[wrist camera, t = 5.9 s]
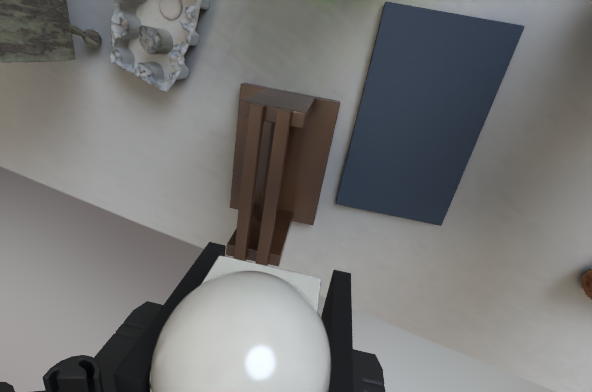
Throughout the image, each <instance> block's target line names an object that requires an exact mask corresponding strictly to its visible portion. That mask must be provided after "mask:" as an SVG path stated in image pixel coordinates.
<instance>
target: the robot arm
mask: <svg viewBox="0 0 592 392" xmlns="http://www.w3.org/2000/svg"><path fill="white" fill-rule="evenodd" d="M219 256H225V245H221V244H216V243H212V242H209V243H208V245H207V246H206V247H205V249H204V250H203V252H202V253H201V254H200V256H199V257H198V259H197V260H196V261H195V263H194V264H193V265H192V267H191V268H190V270H189V271H188V272H187V274H186V275H185V276H184V278H183V279H182V280H181V282H180V283H179V285H178V286H177V287H176V289H175V290H174V291H173V293H172V294H171V296H170V297H169V298H168V300H167V301H166V303H165V304H164V305H161V304H156V303H152V302H148V301H147V302H145V303H144V304H142V305H141V306H139V307H138V308H136V309H135V310H133V312H132V313H131V314H130V315H129V316H128V317H127V319H126V320H125V321H124V323H123V324H122V325H121V326H120V327H119V328H118V330H117V331H116V333H115V334H113V336H112V337H111V338H110V339H109V340H108V342H107V343H106V344H105V345H104V346H103V348H102V349H101V350H100V351H99V352H98V354H97V355H96V356H95V357H94V358H93V357H90V356H85V355H80V356H74V357H70V358H68V359H65V360H63V361H60V362H59V363H57V364H56V365H55V366H53V367H52V368H50V370H49V371H48V372H47V373H46V374H45V375H44V376H43V381H44V385H45V389H46V390H45V391H35V392H150V372H151V363H152V356H153V352H154V348H155V345H156V341H157V339H158V337H159V334H160V332H161V330H162V328H163V326H164V324H165V322H166V320H167V318H168V316H169V315H170V314H171V313H172V312H173V310H174V309H175V308H176V307H177V306H178V304H179V303H180V302H181V301H182V299H183V298H184V297H185V296H186V295H188V294H189V293H190V292H191V291H192V290H194V289H195V288H196V287H198V286H200V285H201V284H202V282H203V281H204V279H205V278H206V276H207V274H208V273H209V271H210V270H211V268H212V266H213V265H214V263H215V262H216V260H217V258H218V257H219ZM321 319H322V321H323V324H324V326H325V328H326V332H327V335H328V339H329V344H330V352H331V366H332V368H331V375H330V381H329V389H328V392H385V387H384V378H383V370H382V367H381V365H380V363H379V361H378V359H377V357H376V355H375V354H370V353H366V352H362V351H358V350H354V349H353V347H352V306H351V273H346V272H342V271H337V270H334V271H333V275H332V278H331V282H330V286H329V290H328V293H327V297H326V301H325V305H324V308H323V312H322V317H321ZM0 392H15V391H14V388H13V386H12V385H10V384H8V383H6V382H0Z"/></svg>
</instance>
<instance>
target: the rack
mask: <svg viewBox="0 0 592 392" xmlns="http://www.w3.org/2000/svg"><path fill="white" fill-rule="evenodd" d="M339 106H340V101H335V100H330V99H325V98H320V97H314V96H309V95H304V94H299V93H294V92H288V91H283V90H278V89H273V88H268V87H263V86H257V85H252V84H247V83H243V84H241V88H240V99H239V110H238V122H237V133H236V144H235V155H234V166H233V177H232V188H231V200H230V208H234V209H239V212H238V222H237V228H236V230H235V232H234V233H233V235H232V237H231V238H230V240H229V242H228V243H227V248H226V255H229V256H234V259H238V260H243V261H246V260H252V261H256V264H260V265H265V266H268V264H270V265H275V266H279V264H280V260H281V257H282V253H283V250H284V247H285V243H286V240H287V236H288V233H289V229H290V226H291V223H292V221H296V222H300V223H305V224H310V225H313V223H314V219H315V214H316V210H317V205H318V201H319V196H320V192H321V187H322V183H323V178H324V173H325V169H326V164H327V160H328V155H329V151H330V146H331V142H332V137H333V133H334V128H335V124H336V119H337V115H338V110H339Z"/></svg>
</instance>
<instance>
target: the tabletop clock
mask: <svg viewBox="0 0 592 392" xmlns="http://www.w3.org/2000/svg"><path fill="white" fill-rule="evenodd" d="M71 33H74V34H76V35H79V36H82V38H83V40H84V42H85V43H86V44H87V45H89V46H91V47H98V46H99V45H100V44H101V41H102V39H101V37H100V35H99V33H98V32H96V31H94V30H86V31H85V32H84V31H82V30H80V29H79V28H77V27H76V26H74V25H72V24H71V23H70V22H69V15H68V9H67V3H66V0H0V62H43V61H66V60H74V59H75V53H74V47H73V41H72V34H71Z"/></svg>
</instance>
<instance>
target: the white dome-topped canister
mask: <svg viewBox="0 0 592 392" xmlns="http://www.w3.org/2000/svg"><path fill="white" fill-rule="evenodd" d="M320 286H321V279H320V278H318V277H314V276H309V275H305V274H300V273H296V272H291V271H287V270H283V269H278V268H274V267H269V266H265V265H260V264H256V263H251V262H247V261H243V260H238V259H234V258H229V257H225V256H219V257H218V258H217V260H216V262H215V263H214V265H213V266H212V268H211V270H210V271H209V273H208V274H207V276H206V278H205V279H204V281H203V282H202V284H201V285H200V286H198V287H196V288H195V289H194V290H192V291H191V292H190V293H189V294H188V295H186V296H185V297H184V298H183V299H182V301H181V302H180V303H179V304H178V306H177V307H176V308H175V309H174V310H173V312H172V313H171V314H170V315H169V316H168V318H167V320H166V322H165V324H164V326H163V328H162V330H161V332H160V334H159V337H158V339H157V341H156V345H155V348H154V352H153V356H152V363H151V372H150V392H328V389H329V381H330V375H331V368H332V366H331V352H330V344H329V339H328V335H327V332H326V328H325V326H324V324H323V321H322V319H321V317H320V315H319V313H318V304H319V296H320Z"/></svg>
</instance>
